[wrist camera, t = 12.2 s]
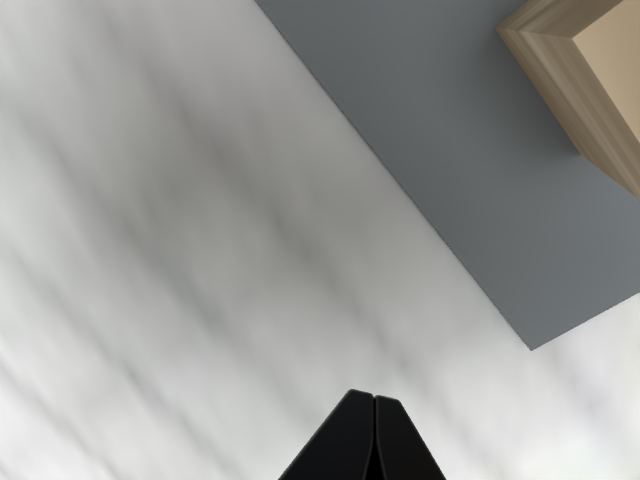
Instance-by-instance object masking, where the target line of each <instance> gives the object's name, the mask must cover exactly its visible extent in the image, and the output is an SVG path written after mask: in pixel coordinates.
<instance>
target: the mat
mask: <svg viewBox="0 0 640 480" xmlns="http://www.w3.org/2000/svg"><path fill="white" fill-rule="evenodd" d="M255 1H256V2H257V4H258V5H259V6H260V7H261V9H262V10H263V11H264V13H265V14H266V15H267V16H268V18H269V19H270V20H271V21H272V23H273V24H274V25H275V27H276V28H277V29H278V30H279V32H280V33H281V34H282V35H283V37H284V38H285V39H286V41H287V42H288V43H289V44H290V46H291V47H292V48H293V49H294V51H295V52H296V53H297V54H298V56H299V57H300V58H301V60H302V61H303V62H304V63H305V65H306V66H307V67H308V68H309V70H310V71H311V72H312V74H313V75H314V76H315V77H316V79H317V80H318V81H319V82H320V84H321V85H322V86H323V87H324V89H325V90H326V91H327V93H328V94H329V95H330V96H331V98H332V99H333V100H334V101H335V103H336V104H337V105H338V107H339V108H340V109H341V110H342V112H343V113H344V114H345V115H346V117H347V118H348V119H349V120H350V122H351V123H352V124H353V126H354V127H355V128H356V129H357V131H358V132H359V133H360V134H361V136H362V137H363V138H364V140H365V141H366V142H367V143H368V145H369V146H370V147H371V148H372V150H373V151H374V152H375V154H376V155H377V156H378V157H379V159H380V160H381V161H382V162H383V164H384V165H385V166H386V167H387V169H388V170H389V171H390V173H391V174H392V175H393V176H394V178H395V179H396V180H397V181H398V183H399V184H400V185H401V187H402V188H403V189H404V190H405V192H406V193H407V194H408V195H409V197H410V198H411V199H412V200H413V202H414V203H415V204H416V206H417V207H418V208H419V209H420V211H421V212H422V213H423V214H424V216H425V217H426V218H427V220H428V221H429V222H430V223H431V225H432V226H433V227H434V228H435V230H436V231H437V232H438V234H439V235H440V236H441V237H442V239H443V240H444V241H445V242H446V244H447V245H448V246H449V247H450V249H451V250H452V251H453V253H454V254H455V255H456V256H457V258H458V259H459V260H460V261H461V263H462V264H463V265H464V267H465V268H466V269H467V270H468V272H469V273H470V274H471V275H472V277H473V278H474V279H475V280H476V282H477V283H478V284H479V286H480V287H481V288H482V289H483V291H484V292H485V293H486V294H487V296H488V297H489V298H490V300H491V301H492V302H493V303H494V305H495V306H496V307H497V308H498V310H499V311H500V312H501V313H502V315H503V316H504V317H505V319H506V320H507V321H508V322H509V324H510V325H511V326H512V327H513V329H514V330H515V331H516V333H517V334H518V335H519V336H520V338H521V339H522V340H523V341H524V343H525V344H526V345H527V347H528V348H529V349H530V350H531V351H532V350H534V349H536V348H538V347H539V346H541V345H543V344H545V343H547V342H549V341H551V340H552V339H554V338H556V337H558V336H560V335H562V334H563V333H565V332H567V331H569V330H571V329H573V328H574V327H576V326H578V325H580V324H582V323H584V322H585V321H587V320H589V319H591V318H593V317H595V316H597V315H598V314H600V313H602V312H604V311H606V310H608V309H609V308H611V307H613V306H615V305H617V304H619V303H620V302H622V301H624V300H626V299H628V298H630V297H631V296H633V295H635V294H637V293H639V292H640V200H639V199H638V198H637V197H635V196H634V195H633V194H632V193H630V192H629V191H628V190H626V189H625V188H624V187H622V186H621V185H620V184H618V183H617V182H616V181H614V180H613V179H612V178H611V177H609V176H608V175H607V174H605V173H604V172H603V171H601V170H600V169H599V168H597V167H596V166H595V165H593V164H592V163H591V162H590V161H588V160H587V159H586V158H584V157H583V156H582V155H581V154H580V153H579V151H578V150H577V148H576V147H575V145H574V144H573V142H572V141H571V140H570V138H569V137H568V135H567V134H566V132H565V131H564V129H563V128H562V126H561V125H560V123H559V122H558V120H557V119H556V118H555V116H554V115H553V113H552V112H551V110H550V109H549V107H548V106H547V104H546V103H545V101H544V100H543V98H542V97H541V95H540V94H539V93H538V91H537V90H536V88H535V87H534V85H533V84H532V82H531V81H530V79H529V78H528V76H527V75H526V73H525V72H524V71H523V69H522V68H521V66H520V65H519V63H518V62H517V60H516V59H515V57H514V56H513V54H512V53H511V51H510V50H509V49H508V47H507V46H506V44H505V43H504V41H503V40H502V38H501V37H500V35H499V34H498V32H497V31H496V29H495V28H494V27H495V26H497V25H498V24H499V23H500V22H502V21H503V20H504V19H506V18H507V17H508V16H509V15H511V14H512V13H513V12H514V11H516V10H517V9H518V8H520V7H521V6H522V5H523V4H525V3H526V2H527V1H528V0H255Z"/></svg>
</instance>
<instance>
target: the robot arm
mask: <svg viewBox="0 0 640 480" xmlns="http://www.w3.org/2000/svg"><path fill="white" fill-rule="evenodd" d="M278 480H446V478H445V476H444V475H443V473H442V471H441V470H440V468H439V466H438V465H437V463H436V461H435V460H434V458H433V456H432V454H431V453H430V451H429V449H428V448H427V446H426V444H425V443H424V441H423V439H422V438H421V436H420V434H419V433H418V431H417V429H416V427H415V426H414V424H413V422H412V421H411V419H410V417H409V416H408V414H407V412H406V411H405V409H404V407H403V406H402V404H401V402H400V401H399V400H397V399H394V398H390V397H385V396H381V395H376V396H375V397H373V395H372V394H371V393H368V392H363V391H359V390H355V389H350V390H349V391H348V392H347V393H346V394H345V395H344V397H343V398H342V399H341V400H340V402H339V403H338V404H337V406H336V407H335V408H334V409H333V411H332V412H331V413H330V414H329V416H328V417H327V418H326V419H325V421H324V422H323V423H322V425H321V426H320V427H319V428H318V430H317V431H316V432H315V433H314V435H313V436H312V437H311V438H310V440H309V441H308V442H307V444H306V445H305V446H304V447H303V449H302V450H301V451H300V452H299V454H298V455H297V456H296V457H295V459H294V460H293V461H292V463H291V464H290V465H289V466H288V468H287V469H286V470H285V471H284V473H283V474H282V475H281V476H280V478H279V479H278Z"/></svg>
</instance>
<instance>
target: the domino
mask: <svg viewBox="0 0 640 480" xmlns="http://www.w3.org/2000/svg"><path fill="white" fill-rule="evenodd" d="M494 28H495V29H496V31H497V32H498V34H499V35H500V37H501V38H502V40H503V41H504V43H505V44H506V46H507V47H508V49H509V50H510V51H511V53H512V54H513V56H514V57H515V59H516V60H517V62H518V63H519V65H520V66H521V68H522V69H523V71H524V72H525V73H526V75H527V76H528V78H529V79H530V81H531V82H532V84H533V85H534V87H535V88H536V90H537V91H538V93H539V94H540V95H541V97H542V98H543V100H544V101H545V103H546V104H547V106H548V107H549V109H550V110H551V112H552V113H553V115H554V116H555V118H556V119H557V120H558V122H559V123H560V125H561V126H562V128H563V129H564V131H565V132H566V134H567V135H568V137H569V138H570V140H571V141H572V142H573V144H574V145H575V147H576V148H577V150H578V151H579V153H580V154H581V155H582V156H583V157H584V158H586V159H587V160H588V161H590V162H591V163H592V164H593V165H595V166H596V167H597V168H599V169H600V170H601V171H603V172H604V173H605V174H607V175H608V176H609V177H611V178H612V179H613V180H614V181H616V182H617V183H618V184H620V185H621V186H622V187H624V188H625V189H626V190H628V191H629V192H630V193H632V194H633V195H634V196H635V197H637V198H638V199H639V200H640V0H528V1H527V2H526V3H525V4H523V5H522V6H521V7H520V8H518V9H517V10H516V11H514V12H513V13H512V14H511V15H509V16H508V17H507V18H506V19H504V20H503V21H502V22H500V23H499V24H498V25H497V26H495V27H494Z"/></svg>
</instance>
